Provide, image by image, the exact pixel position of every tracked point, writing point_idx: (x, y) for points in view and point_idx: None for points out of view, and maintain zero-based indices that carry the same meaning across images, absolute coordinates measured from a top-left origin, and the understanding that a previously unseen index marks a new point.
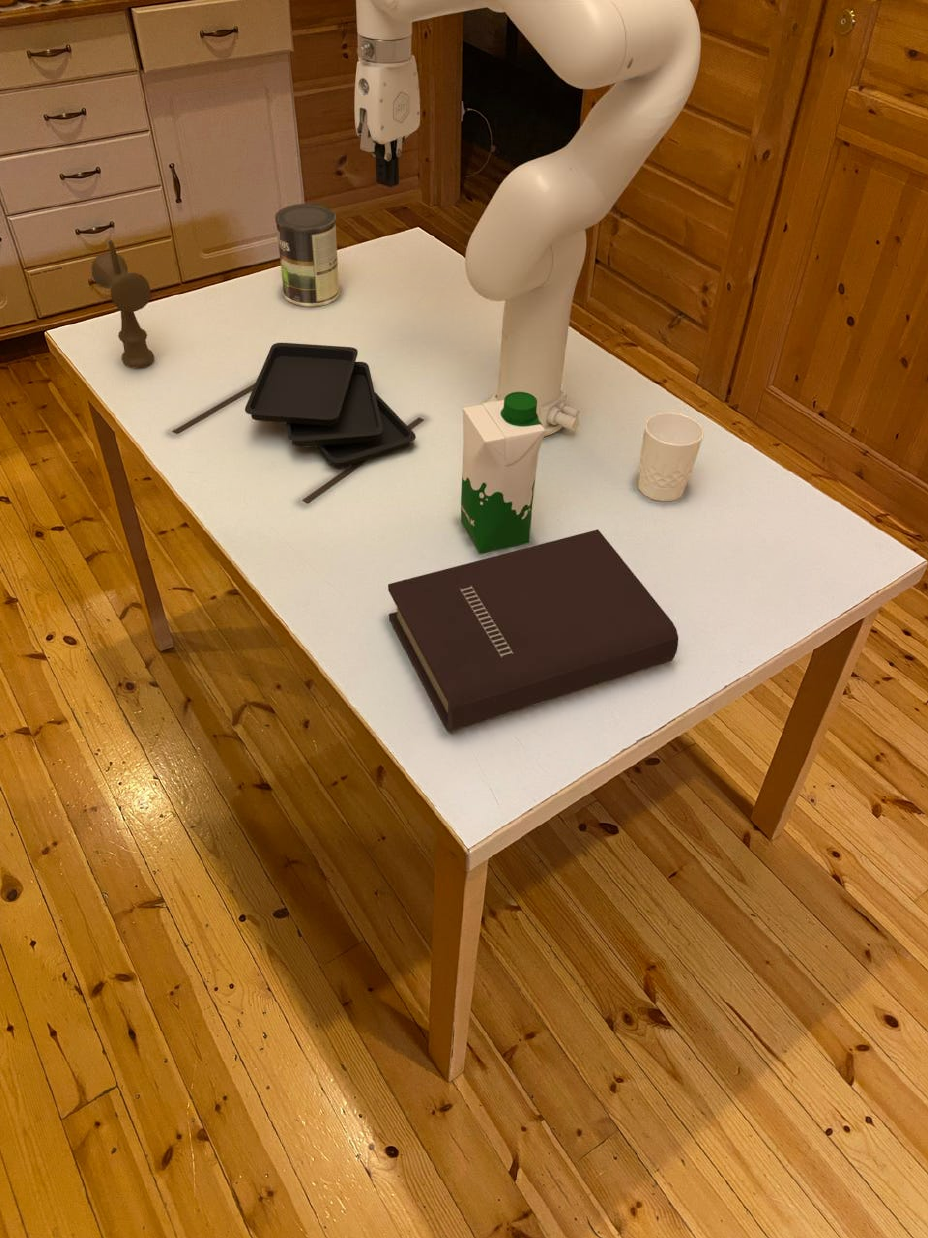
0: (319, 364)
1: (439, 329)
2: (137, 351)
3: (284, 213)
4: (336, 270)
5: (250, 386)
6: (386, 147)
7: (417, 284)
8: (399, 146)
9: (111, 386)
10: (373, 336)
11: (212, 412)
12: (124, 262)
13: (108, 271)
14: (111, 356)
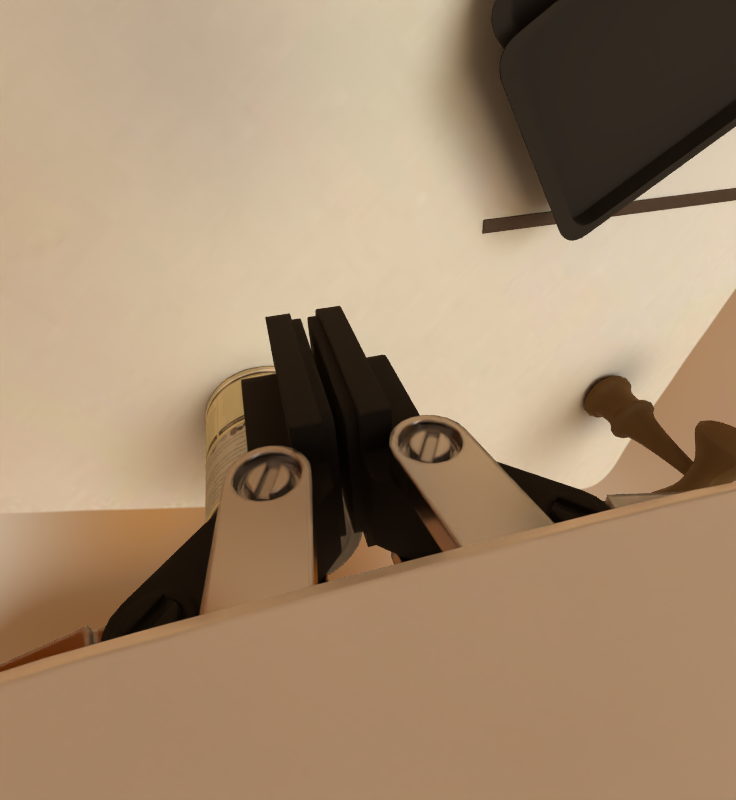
0: (555, 116)
1: (102, 63)
2: (631, 394)
3: None
4: (235, 412)
5: None
6: (509, 502)
7: (5, 313)
8: (263, 518)
9: (670, 361)
10: (289, 186)
11: (693, 194)
12: None
13: None
14: (605, 422)
